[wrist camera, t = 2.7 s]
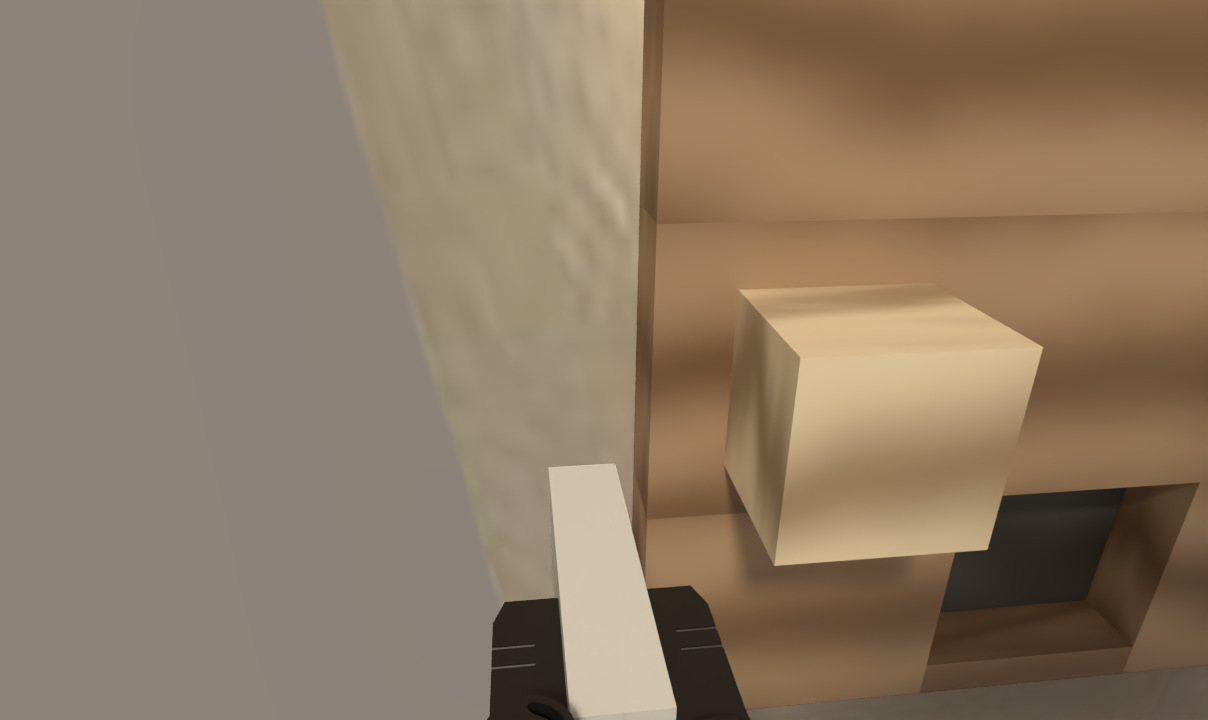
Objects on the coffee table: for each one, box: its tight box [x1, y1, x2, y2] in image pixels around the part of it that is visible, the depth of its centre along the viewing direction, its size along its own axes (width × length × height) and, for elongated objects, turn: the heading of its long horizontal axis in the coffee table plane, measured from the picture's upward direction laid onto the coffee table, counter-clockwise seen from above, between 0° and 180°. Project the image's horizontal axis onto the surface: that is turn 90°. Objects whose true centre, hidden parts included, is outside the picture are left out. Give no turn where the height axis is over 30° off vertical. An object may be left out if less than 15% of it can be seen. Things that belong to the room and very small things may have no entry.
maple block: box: [724, 283, 1043, 566], centre depth 20 cm, size 6×6×5 cm
